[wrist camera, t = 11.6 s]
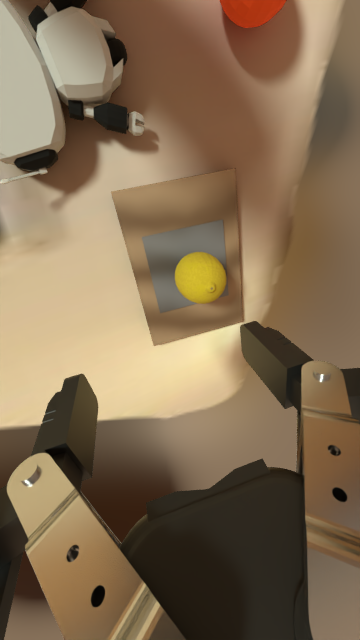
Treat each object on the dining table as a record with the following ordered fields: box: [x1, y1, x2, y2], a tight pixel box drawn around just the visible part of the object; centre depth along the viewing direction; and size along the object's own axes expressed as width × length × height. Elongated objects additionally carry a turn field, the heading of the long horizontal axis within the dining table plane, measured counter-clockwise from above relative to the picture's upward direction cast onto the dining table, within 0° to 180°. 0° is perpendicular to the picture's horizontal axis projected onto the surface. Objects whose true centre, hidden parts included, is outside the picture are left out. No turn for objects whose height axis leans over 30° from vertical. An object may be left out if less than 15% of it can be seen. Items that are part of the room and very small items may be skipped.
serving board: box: [111, 168, 243, 346], centre depth 30 cm, size 20×14×2 cm
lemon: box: [175, 252, 226, 304], centre depth 26 cm, size 6×6×8 cm
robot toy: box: [0, 0, 144, 184], centre depth 19 cm, size 12×4×15 cm
